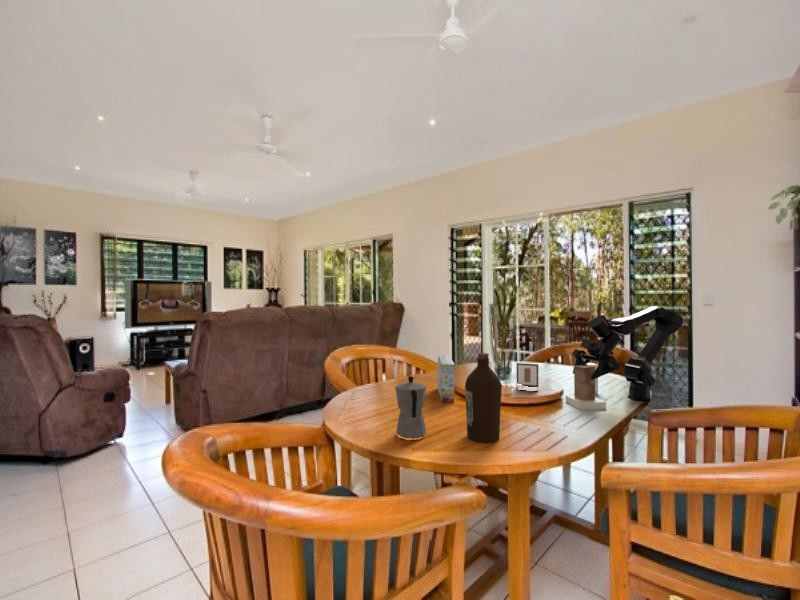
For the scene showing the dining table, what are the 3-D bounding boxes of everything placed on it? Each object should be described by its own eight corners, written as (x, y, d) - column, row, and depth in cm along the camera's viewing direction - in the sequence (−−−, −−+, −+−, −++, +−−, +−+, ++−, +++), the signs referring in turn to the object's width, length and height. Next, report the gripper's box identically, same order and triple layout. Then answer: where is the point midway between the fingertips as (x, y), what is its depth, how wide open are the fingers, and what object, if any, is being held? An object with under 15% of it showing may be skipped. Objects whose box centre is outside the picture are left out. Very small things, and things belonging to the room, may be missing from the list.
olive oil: (496, 430, 121) (496, 350, 120) (505, 444, 110) (505, 356, 109) (462, 430, 121) (462, 350, 120) (468, 444, 110) (468, 356, 110)
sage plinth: (590, 402, 152) (590, 394, 152) (605, 410, 142) (606, 402, 142) (565, 403, 151) (565, 395, 151) (579, 411, 141) (579, 403, 141)
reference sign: (516, 387, 173) (516, 362, 173) (538, 388, 170) (538, 363, 170) (516, 390, 168) (516, 364, 167) (538, 392, 165) (538, 365, 164)
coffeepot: (393, 428, 124) (393, 371, 123) (423, 426, 125) (422, 371, 124) (398, 447, 108) (397, 383, 108) (431, 446, 109) (431, 382, 109)
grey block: (590, 390, 167) (591, 362, 167) (598, 393, 162) (598, 364, 162) (579, 390, 167) (580, 362, 166) (586, 393, 162) (586, 365, 161)
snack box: (455, 402, 151) (455, 364, 150) (441, 402, 151) (441, 364, 150) (449, 388, 172) (449, 354, 171) (437, 388, 172) (437, 354, 171)
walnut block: (585, 396, 150) (584, 364, 150) (595, 399, 145) (594, 367, 145) (574, 397, 148) (574, 365, 148) (584, 400, 143) (584, 367, 143)
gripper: (576, 328, 156) (552, 357, 153) (614, 333, 138) (588, 366, 135) (592, 347, 158) (569, 376, 155) (631, 354, 140) (606, 387, 137)
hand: (582, 376), depth 146 cm, fingers open, 9 cm apart
